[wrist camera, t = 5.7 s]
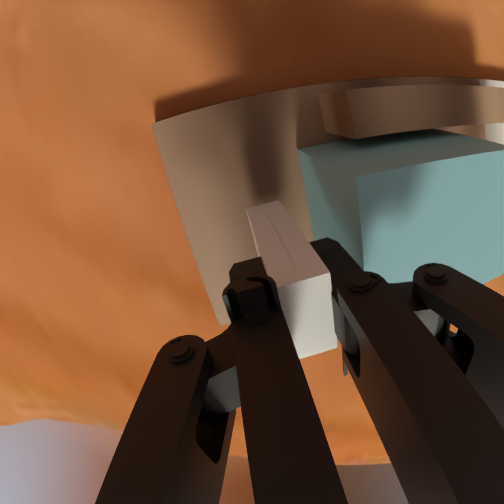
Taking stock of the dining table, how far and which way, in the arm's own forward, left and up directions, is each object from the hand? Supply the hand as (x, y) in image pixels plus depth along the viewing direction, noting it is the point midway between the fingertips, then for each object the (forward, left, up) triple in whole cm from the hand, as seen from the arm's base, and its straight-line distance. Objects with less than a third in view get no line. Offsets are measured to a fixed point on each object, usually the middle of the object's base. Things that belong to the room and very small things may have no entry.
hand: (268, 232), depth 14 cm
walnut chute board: (+5, +10, -3) cm, 11 cm away
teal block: (+3, +6, -2) cm, 7 cm away
